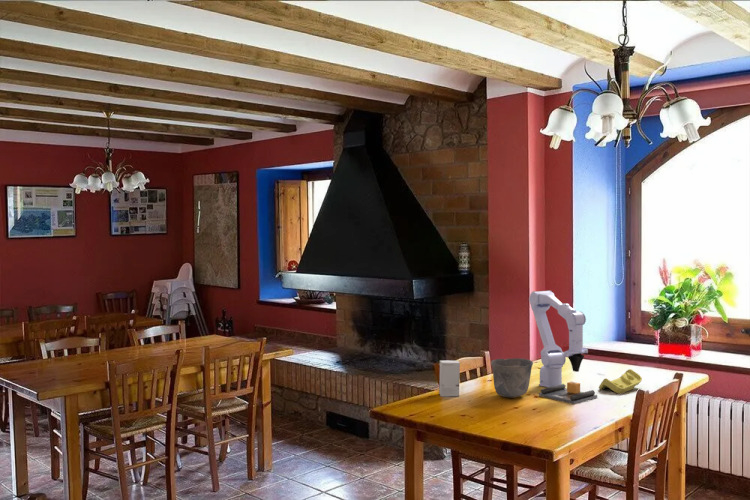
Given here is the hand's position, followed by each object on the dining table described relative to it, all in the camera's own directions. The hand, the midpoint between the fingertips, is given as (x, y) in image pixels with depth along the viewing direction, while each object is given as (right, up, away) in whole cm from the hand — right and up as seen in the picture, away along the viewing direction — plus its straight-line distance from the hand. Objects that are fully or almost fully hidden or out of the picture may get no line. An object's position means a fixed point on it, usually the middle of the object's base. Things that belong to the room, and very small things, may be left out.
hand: (575, 371), depth 301 cm
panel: (-5, -10, -5) cm, 12 cm away
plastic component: (+23, -10, +9) cm, 26 cm away
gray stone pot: (-28, -11, -2) cm, 30 cm away
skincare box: (-55, -11, +1) cm, 56 cm away
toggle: (-2, -9, -2) cm, 9 cm away
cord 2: (-1, -9, -11) cm, 14 cm away
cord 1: (-10, -9, +1) cm, 13 cm away
